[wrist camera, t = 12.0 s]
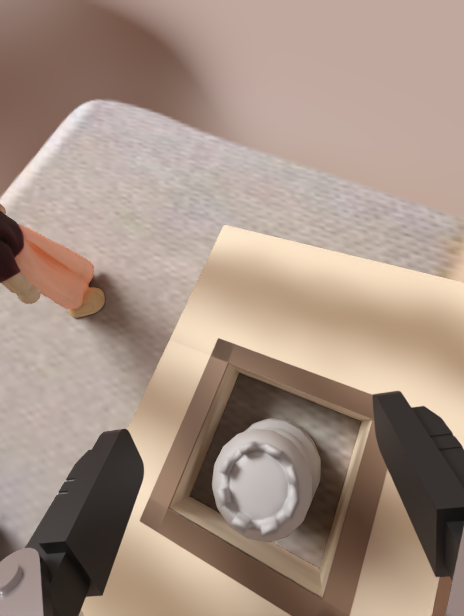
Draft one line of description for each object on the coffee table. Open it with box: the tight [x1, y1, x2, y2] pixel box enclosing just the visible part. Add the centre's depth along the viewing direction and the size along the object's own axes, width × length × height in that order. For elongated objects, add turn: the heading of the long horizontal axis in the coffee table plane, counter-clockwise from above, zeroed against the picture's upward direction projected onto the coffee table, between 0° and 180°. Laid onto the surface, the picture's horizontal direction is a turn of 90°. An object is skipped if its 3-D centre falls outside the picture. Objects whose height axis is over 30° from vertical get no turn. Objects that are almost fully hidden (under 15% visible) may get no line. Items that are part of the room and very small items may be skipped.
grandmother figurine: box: [0, 204, 105, 318], centre depth 18 cm, size 8×4×13 cm, turn 45°
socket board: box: [81, 225, 464, 616], centre depth 16 cm, size 22×14×3 cm, turn 157°
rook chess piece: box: [212, 418, 321, 543], centre depth 13 cm, size 4×4×8 cm
